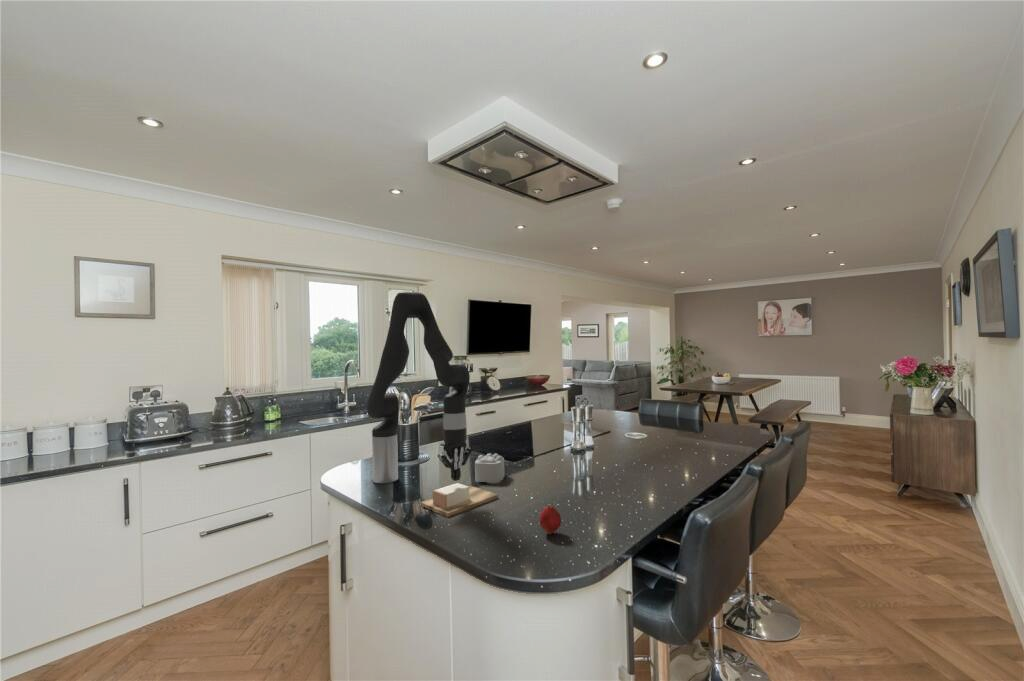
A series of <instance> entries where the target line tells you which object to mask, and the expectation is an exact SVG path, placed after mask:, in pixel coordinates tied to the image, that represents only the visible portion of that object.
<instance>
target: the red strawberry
mask: <svg viewBox="0 0 1024 681" xmlns="http://www.w3.org/2000/svg"><path fill="white" fill-rule="evenodd" d="M539 514H540V515H539V517H538V522H539V525H540V528H541V529H542V530H544V531H545V532H546V533H547V534H548V535H553V534H554V533H555V532H556V531H557V530H558V529H559V528H560V526H561V525H562V523H561V522H562V518H561V515H560V512H559V511H558V510H557V508H555V507H553V505H552V504H551V503H549V504H548V505H547V506H546V507H545V508H543V510H542V511H541V512H540V513H539Z"/></svg>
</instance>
